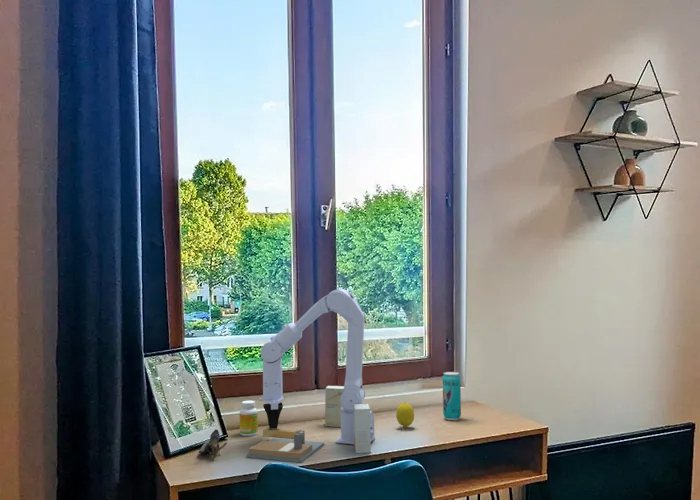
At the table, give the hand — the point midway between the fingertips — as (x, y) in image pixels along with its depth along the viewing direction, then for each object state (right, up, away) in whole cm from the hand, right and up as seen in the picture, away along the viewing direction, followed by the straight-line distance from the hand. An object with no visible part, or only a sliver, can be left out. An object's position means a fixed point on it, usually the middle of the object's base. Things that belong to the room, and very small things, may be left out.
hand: (273, 428), depth 181 cm
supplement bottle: (-8, -4, +6) cm, 11 cm away
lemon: (+40, -3, +10) cm, 41 cm away
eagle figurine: (-15, -3, -16) cm, 22 cm away
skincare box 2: (+26, -3, -12) cm, 29 cm away
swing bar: (+4, -2, -8) cm, 9 cm away
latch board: (+5, -3, -12) cm, 13 cm away
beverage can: (+56, -3, +21) cm, 60 cm away
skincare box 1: (+18, -3, +15) cm, 24 cm away
